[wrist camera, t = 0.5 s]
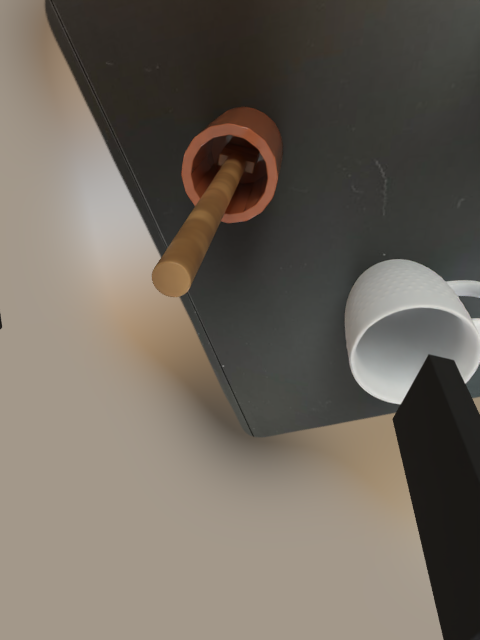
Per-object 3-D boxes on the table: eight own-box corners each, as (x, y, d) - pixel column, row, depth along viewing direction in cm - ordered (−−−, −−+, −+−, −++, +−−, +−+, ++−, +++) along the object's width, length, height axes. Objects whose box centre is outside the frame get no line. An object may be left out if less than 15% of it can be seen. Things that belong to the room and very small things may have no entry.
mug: (481, 222, 44) (540, 284, 33) (481, 314, 49) (532, 393, 38) (331, 253, 47) (339, 317, 36) (346, 335, 53) (357, 412, 42)
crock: (212, 98, 41) (188, 113, 32) (292, 117, 41) (288, 138, 32) (200, 178, 45) (176, 210, 36) (272, 196, 45) (264, 232, 37)
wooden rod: (225, 156, 43) (134, 288, 20) (228, 137, 42) (137, 253, 19) (256, 165, 43) (202, 305, 20) (261, 146, 42) (209, 271, 19)
